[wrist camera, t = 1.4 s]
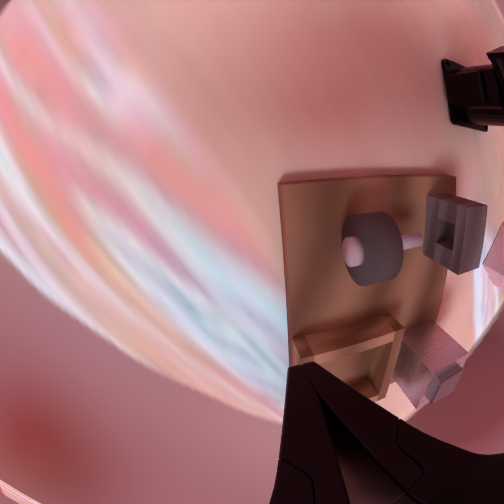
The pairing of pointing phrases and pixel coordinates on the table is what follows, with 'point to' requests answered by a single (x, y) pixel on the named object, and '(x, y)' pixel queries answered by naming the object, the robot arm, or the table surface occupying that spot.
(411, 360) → the block
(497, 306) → the table surface
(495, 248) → the milk
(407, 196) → the frame
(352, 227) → the wheel
